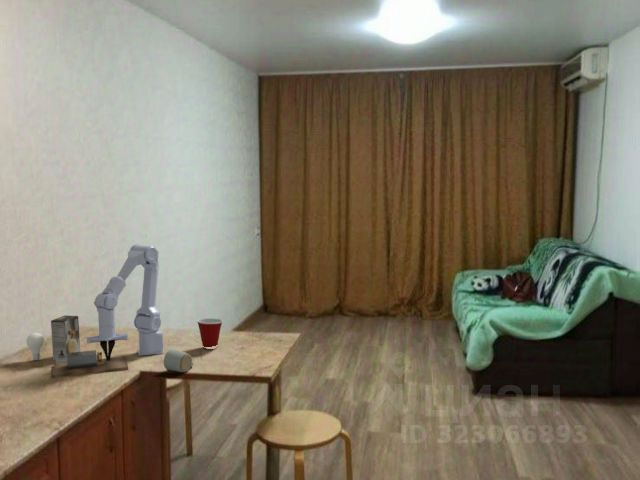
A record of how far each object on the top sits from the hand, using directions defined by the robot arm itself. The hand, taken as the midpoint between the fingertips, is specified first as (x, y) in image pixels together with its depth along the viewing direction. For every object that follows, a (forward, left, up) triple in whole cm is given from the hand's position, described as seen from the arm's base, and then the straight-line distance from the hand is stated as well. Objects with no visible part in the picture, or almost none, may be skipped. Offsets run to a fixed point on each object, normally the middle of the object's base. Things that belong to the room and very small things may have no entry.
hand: (108, 359), depth 236 cm
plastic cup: (-41, -11, -3) cm, 42 cm away
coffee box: (+15, -17, -3) cm, 23 cm away
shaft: (+10, 0, 0) cm, 10 cm away
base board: (+6, 0, -2) cm, 7 cm away
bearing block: (+9, 0, -2) cm, 9 cm away
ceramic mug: (-25, +14, -3) cm, 29 cm away
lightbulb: (+26, -17, -2) cm, 31 cm away
